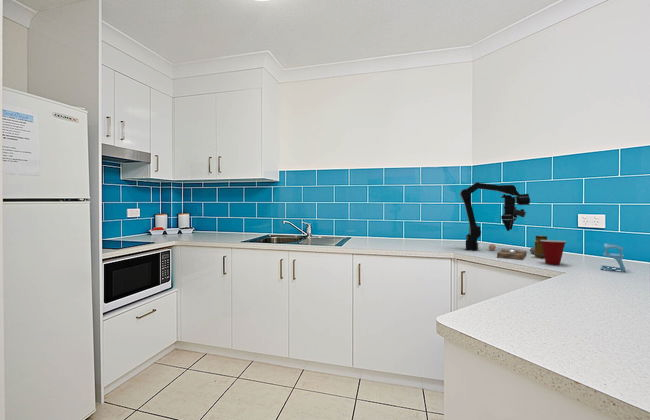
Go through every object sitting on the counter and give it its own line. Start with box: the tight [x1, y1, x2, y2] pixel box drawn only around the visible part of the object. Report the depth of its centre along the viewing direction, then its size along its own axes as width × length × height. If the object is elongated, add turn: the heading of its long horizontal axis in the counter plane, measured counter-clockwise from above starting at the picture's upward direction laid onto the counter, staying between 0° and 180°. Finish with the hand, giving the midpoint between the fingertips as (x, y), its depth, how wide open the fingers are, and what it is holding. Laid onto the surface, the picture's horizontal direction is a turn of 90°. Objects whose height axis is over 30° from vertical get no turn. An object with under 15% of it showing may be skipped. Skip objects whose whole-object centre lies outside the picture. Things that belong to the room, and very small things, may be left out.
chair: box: [600, 242, 627, 272], centre depth 138 cm, size 8×8×12 cm
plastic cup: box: [540, 239, 567, 266], centre depth 153 cm, size 11×11×12 cm
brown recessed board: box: [496, 248, 527, 261], centre depth 173 cm, size 12×16×2 cm
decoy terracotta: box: [488, 243, 497, 251], centre depth 193 cm, size 4×4×4 cm
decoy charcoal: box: [529, 246, 535, 255], centre depth 179 cm, size 4×4×4 cm
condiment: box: [532, 235, 548, 260], centre depth 168 cm, size 7×8×12 cm
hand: (509, 230), depth 190 cm, fingers open, 9 cm apart
